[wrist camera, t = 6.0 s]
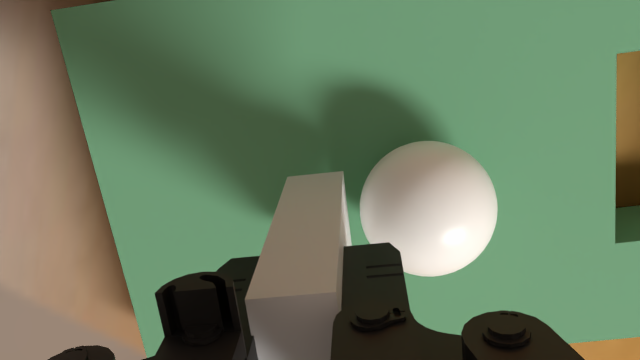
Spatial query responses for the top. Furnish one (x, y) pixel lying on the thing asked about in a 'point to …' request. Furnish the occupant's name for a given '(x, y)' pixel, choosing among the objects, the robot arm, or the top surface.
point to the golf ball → (430, 207)
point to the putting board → (364, 137)
